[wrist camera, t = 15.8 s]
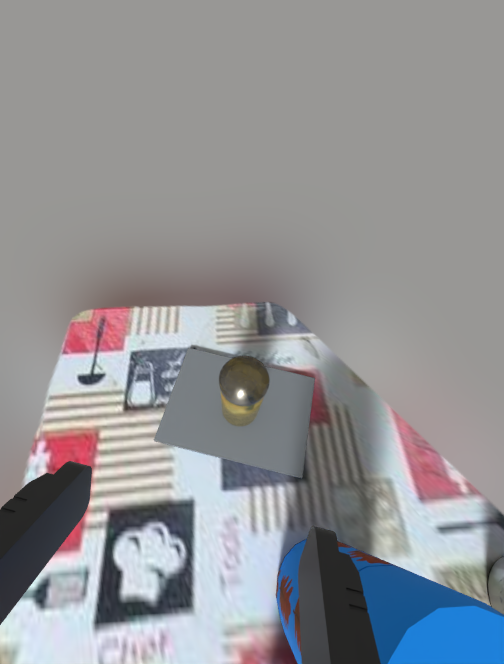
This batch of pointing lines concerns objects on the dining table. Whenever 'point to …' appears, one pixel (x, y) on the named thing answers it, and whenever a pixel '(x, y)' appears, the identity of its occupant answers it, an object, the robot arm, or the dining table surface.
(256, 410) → the canister
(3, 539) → the robot arm
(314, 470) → the dining table surface
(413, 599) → the thermos
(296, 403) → the slate board
